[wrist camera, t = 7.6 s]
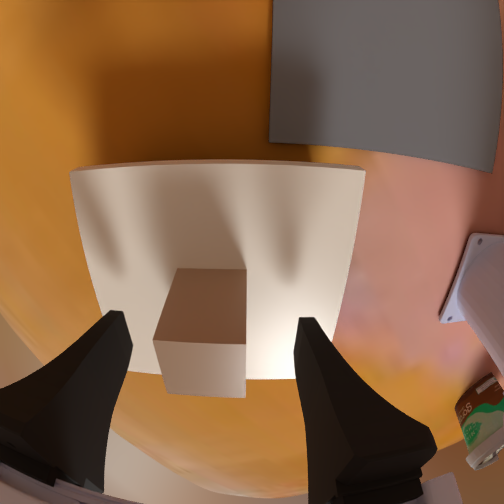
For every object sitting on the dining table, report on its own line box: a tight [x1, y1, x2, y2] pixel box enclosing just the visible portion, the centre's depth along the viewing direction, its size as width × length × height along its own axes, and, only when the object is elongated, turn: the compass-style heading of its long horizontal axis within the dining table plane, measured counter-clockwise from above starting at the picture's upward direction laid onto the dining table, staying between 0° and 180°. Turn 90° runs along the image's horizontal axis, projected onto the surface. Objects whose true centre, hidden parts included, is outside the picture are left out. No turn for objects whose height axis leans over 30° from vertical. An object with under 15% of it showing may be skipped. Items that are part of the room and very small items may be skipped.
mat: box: [269, 0, 503, 173], centre depth 11 cm, size 15×15×1 cm
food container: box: [455, 372, 504, 470], centre depth 25 cm, size 12×6×10 cm, turn 21°
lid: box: [69, 159, 366, 398], centre depth 12 cm, size 12×12×5 cm
